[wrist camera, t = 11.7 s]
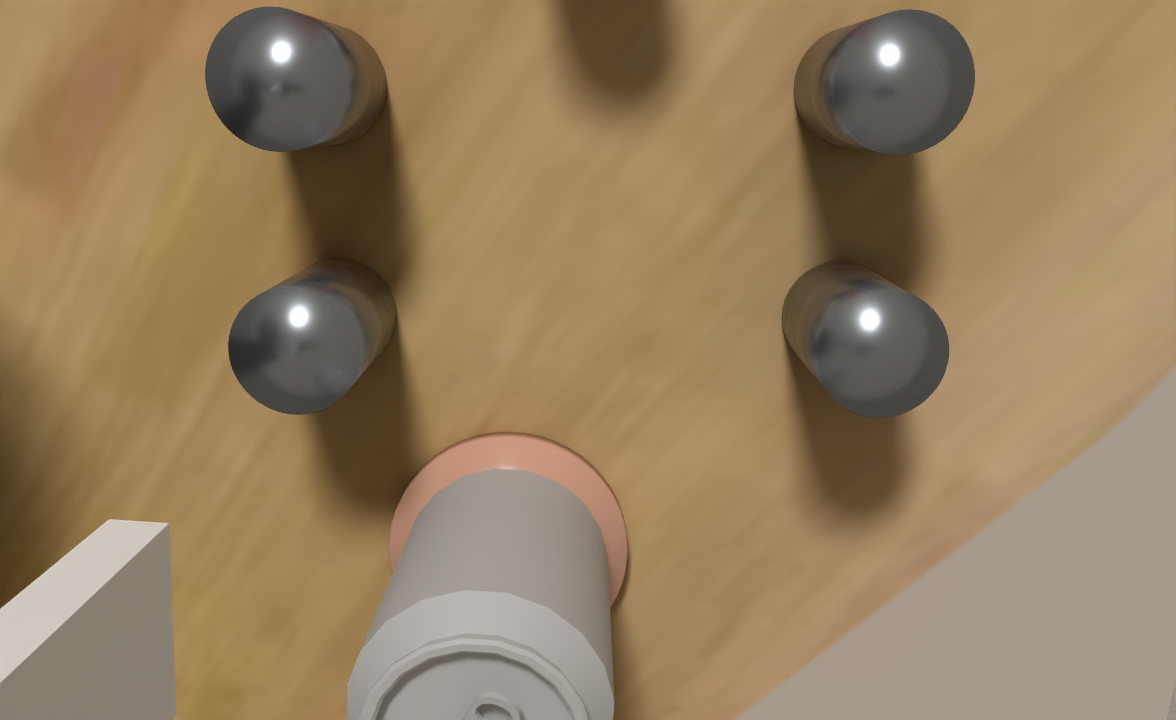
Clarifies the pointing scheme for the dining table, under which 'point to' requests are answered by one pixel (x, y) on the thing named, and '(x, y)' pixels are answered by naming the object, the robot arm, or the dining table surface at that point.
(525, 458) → the pink flat disc
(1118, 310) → the dining table surface
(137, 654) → the robot arm
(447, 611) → the can
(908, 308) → the chrome peg cluster
